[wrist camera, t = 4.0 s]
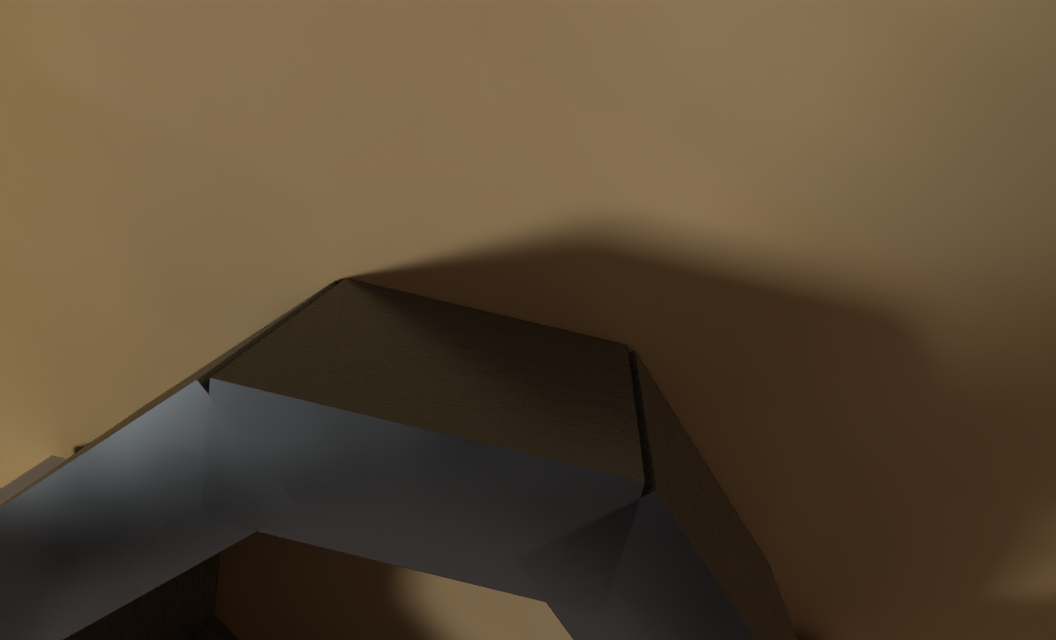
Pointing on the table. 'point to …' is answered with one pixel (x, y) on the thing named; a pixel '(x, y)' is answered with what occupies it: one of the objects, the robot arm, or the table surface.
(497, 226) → the table surface
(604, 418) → the ring
